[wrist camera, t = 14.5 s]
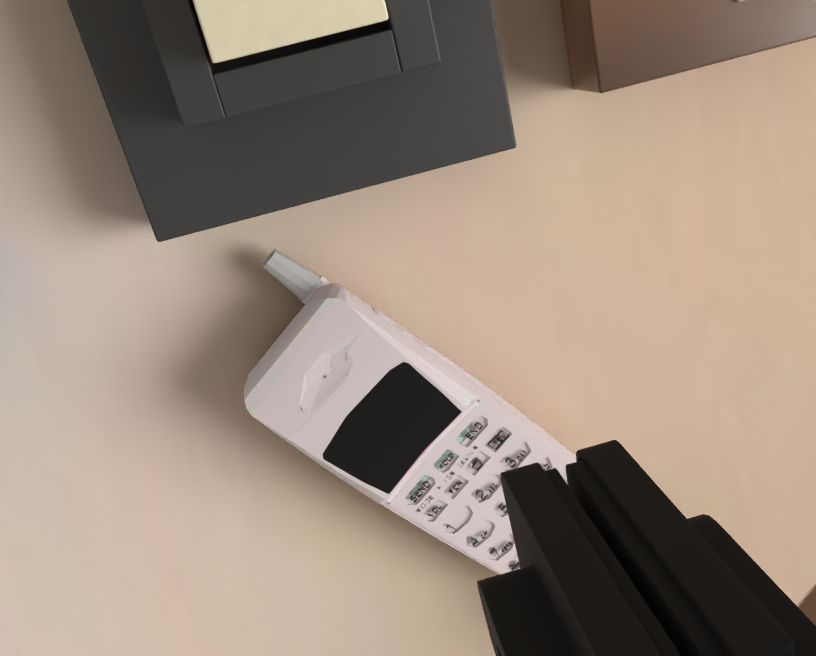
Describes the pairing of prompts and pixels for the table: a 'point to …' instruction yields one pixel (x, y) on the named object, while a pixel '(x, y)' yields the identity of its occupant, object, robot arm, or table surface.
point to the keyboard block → (292, 106)
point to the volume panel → (673, 36)
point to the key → (278, 22)
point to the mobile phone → (395, 417)
